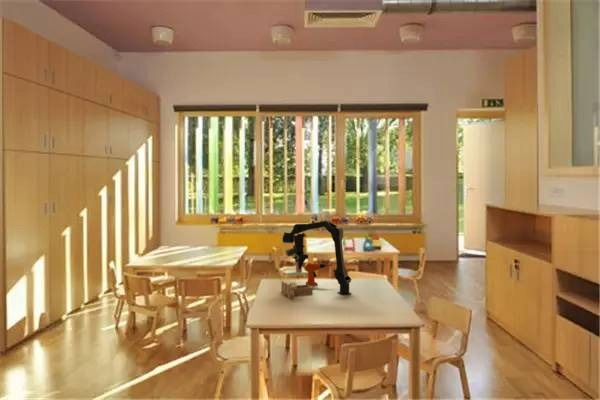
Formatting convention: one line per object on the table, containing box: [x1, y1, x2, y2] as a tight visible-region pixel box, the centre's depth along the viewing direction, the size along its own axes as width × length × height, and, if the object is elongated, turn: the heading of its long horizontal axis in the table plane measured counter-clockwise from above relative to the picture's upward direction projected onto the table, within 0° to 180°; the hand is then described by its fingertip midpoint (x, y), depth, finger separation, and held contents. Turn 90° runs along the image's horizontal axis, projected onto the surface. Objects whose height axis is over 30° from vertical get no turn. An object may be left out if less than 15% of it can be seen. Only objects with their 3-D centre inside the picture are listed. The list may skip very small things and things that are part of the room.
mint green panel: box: [282, 262, 308, 276], centre depth 311 cm, size 8×14×8 cm, turn 109°
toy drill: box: [304, 262, 333, 287], centre depth 324 cm, size 5×19×15 cm, turn 86°
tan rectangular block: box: [289, 281, 298, 289], centre depth 289 cm, size 4×3×3 cm
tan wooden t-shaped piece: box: [281, 280, 314, 300], centre depth 295 cm, size 18×16×7 cm
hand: (298, 268), depth 312 cm, fingers closed on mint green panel, 3 cm apart
